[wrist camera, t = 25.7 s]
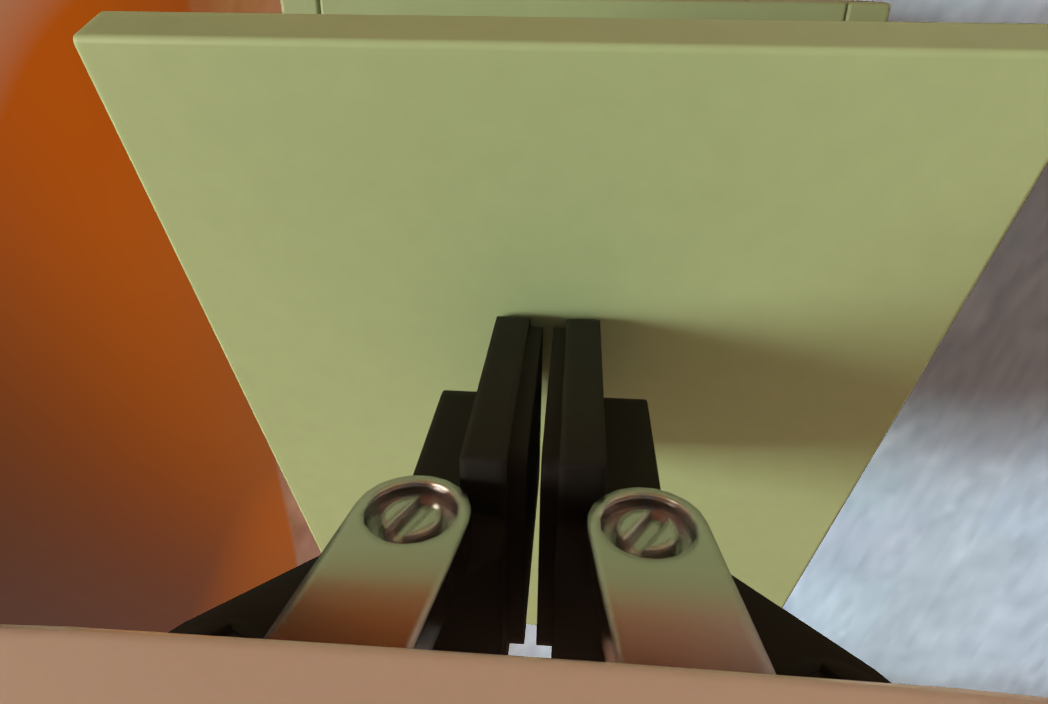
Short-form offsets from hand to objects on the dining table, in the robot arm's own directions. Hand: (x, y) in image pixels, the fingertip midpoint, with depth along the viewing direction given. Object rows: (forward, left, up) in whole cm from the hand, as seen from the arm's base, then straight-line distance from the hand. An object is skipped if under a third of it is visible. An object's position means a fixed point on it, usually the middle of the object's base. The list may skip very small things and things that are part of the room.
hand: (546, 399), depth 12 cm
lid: (0, +2, -2) cm, 3 cm away
